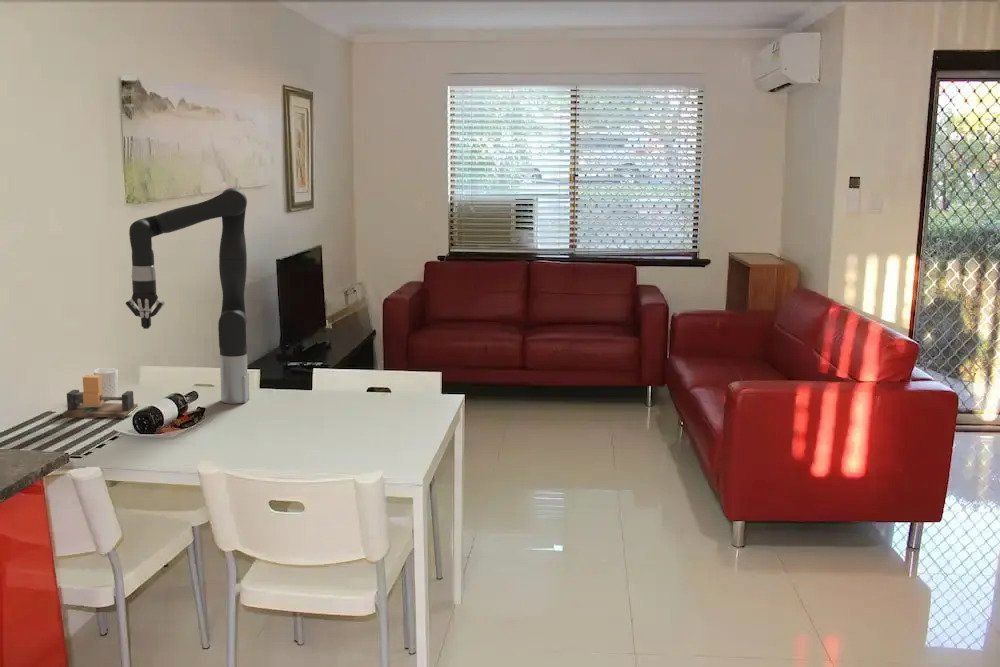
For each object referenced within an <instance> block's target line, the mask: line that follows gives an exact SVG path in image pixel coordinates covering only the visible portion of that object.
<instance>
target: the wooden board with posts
mask: <svg viewBox="0 0 1000 667" xmlns="http://www.w3.org/2000/svg"><path fill="white" fill-rule="evenodd" d="M83 393H84V391H83V392H81V391H80V389H72V390H70V391H69V392H67V393H66V405H67V409H66V410H65V411H63V412H62V416H63V418H87V417H125V416H127V415H128V414H129V413H130V412H131V411H133V410H134V409H135V408H136V407H139V406H138V403H134V400H135V398H134V390H127V391H125V392H124V393H122V394H121V396H117V397H106V396H100V400H104V401H121V403H119V402H117V403H115V402H114V403H111V402H110V403H109V402H104V403H103V404H101V405H100V406H83ZM128 416H129V415H128ZM128 416H127V417H128Z"/></svg>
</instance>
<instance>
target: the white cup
mask: <svg viewBox="0 0 1000 667" xmlns="http://www.w3.org/2000/svg"><path fill="white" fill-rule="evenodd" d="M118 373H119V370H118V368H114V367H102V368H97V369H95V370H93V375H102V390H103V395H104V396H106V397H118V388H119V386H118V385H119V383H118V382H119V380H118V379H119V377H118V376H119V374H118Z"/></svg>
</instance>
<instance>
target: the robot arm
mask: <svg viewBox="0 0 1000 667" xmlns="http://www.w3.org/2000/svg"><path fill="white" fill-rule="evenodd" d="M247 205H248V199H247V195H246V194H245V193H244V192H243V191H242V190H241V189H240V188H236V187H229V188H226V189H225V190H224V191H222V192H221V193H220V194H218V195H216V196H214V197H212V198H210V199H207V200H205V201H202V202H197V203H195V204H189V205H185V206H184V205H183V206H181V207H177V208H173V209H170V210H167V211H164V212H161V213H159V214H157V215H153V216H147V217H143V218H141V219H137V220H135V221H134V222H132V224H131V223H130V224H131V225H130V227H129V230H128V231H129V233H128V234H129V242H130V247H131V264H132V266H131V268H132V269H131V281H132V283H131V284H132V286H131V287H132V296H131V299H129V300H128V301H125V305H126V306H127V307H128V308H129V310H130V311H131V312H132V313H133V315H134V316H136V317H140V322H141V325H140V326H141V328H143V329H144V330H145V329H147V330H149V329H150V328H151V325H152V317H155V316H156V315H157V314H158V312H159V311H160V310H161V309H162V307H163V306H164V305H165V301H161V300H160V299H159V296H158V295H157V278H156V277H157V276H156V275H157V274H156V267H155V256H154V255H155V253H154V251H153V250H154V249H153V248H152V247H153V244H152V243H153V242H152V238H153V237H154V238H155V237H156V236H157V237H158V236H160V235H163V234H169V233H172V232H176V231H179V230H182V229H185V228H188V227H192V226H193V225H196V224H200V223H202V222H205V221H209V220H212V219H217V218H221V221H222V228H221V229H222V230H221V237H220V244H219V252H218V253H219V254H218V255H219V256H218V259H219V260H218V262H219V264H218V270H219V278H220V284H221V292H222V301H221V302H222V303H221V312H220V316H219V319H218V323H217V324H218V328H217V329H218V347H219V366H220V367H219V368H220V370H219V371H220V374H219V376H220V399H221V400H220V401H221V402H222V403H224V404H230V405H231V404H232V405H233V404H234V405H235V404H242V403H243V404H245V403H247V402H248V401H249V400H250V373H249V372H248V346H247V323H248V322H247V320H248V319H247V315H246V313H247V312H246V306H245V289H246V288H245V287H246V282H247V269H248V268H247V267H248V266H247V263H248V262H247V261H248V260H247V259H248V258H247V255H248V254H247V244H246V236H245V218H246V211H247V209H246V208H247ZM154 305H155V308H154V309H153V307H154Z"/></svg>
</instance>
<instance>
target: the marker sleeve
mask: <svg viewBox="0 0 1000 667" xmlns="http://www.w3.org/2000/svg"><path fill="white" fill-rule="evenodd" d="M82 388H83V390H82V391H83V392H84V393H83V406H100V405H101V404H103V403H105V400H100V396H104V395H103V390H102V375H94V374H92V375H91V374H86V375H84V376H82Z"/></svg>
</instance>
